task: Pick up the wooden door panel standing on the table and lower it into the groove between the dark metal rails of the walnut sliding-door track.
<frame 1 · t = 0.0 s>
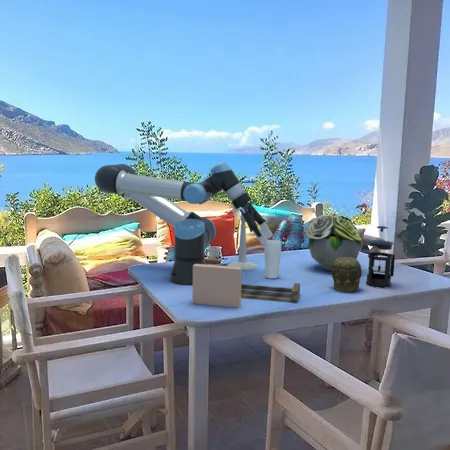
hand: (268, 240, 194), 15 cm above the table, tool tilted 35°, fingers open, 13 cm apart
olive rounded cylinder: (345, 289, 181), on the table
candlestick: (242, 267, 212), on the table
flower arrangement: (333, 269, 210), on the table
door panel: (216, 304, 161), on the table
drinking glass: (271, 277, 196), on the table
french press: (379, 284, 188), on the table
door track: (259, 294, 172), on the table
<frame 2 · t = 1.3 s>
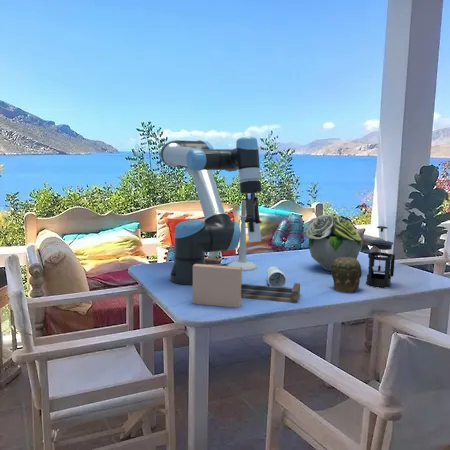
hand: (255, 241, 168), 19 cm above the table, tool pointing down, fingers open, 13 cm apart
drinking glass: (273, 272, 193), point 3 cm above the table
everything else where it was.
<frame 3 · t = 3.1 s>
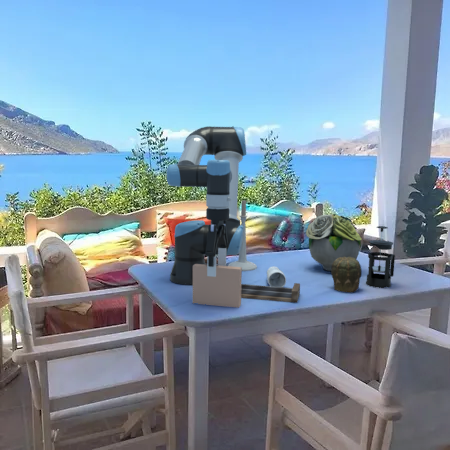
hand: (217, 271, 159), 11 cm above the table, tool pointing down, fingers open, 13 cm apart
nothing on the table moved.
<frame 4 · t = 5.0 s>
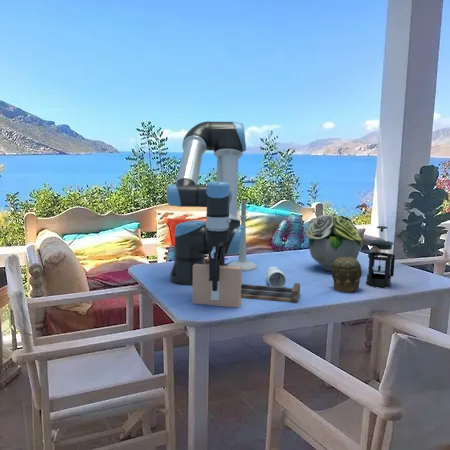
hand: (216, 297, 161), 2 cm above the table, tool pointing down, fingers closed on door panel, 3 cm apart
door panel: (216, 304, 161), on the table, touching gripper
everything else where it was.
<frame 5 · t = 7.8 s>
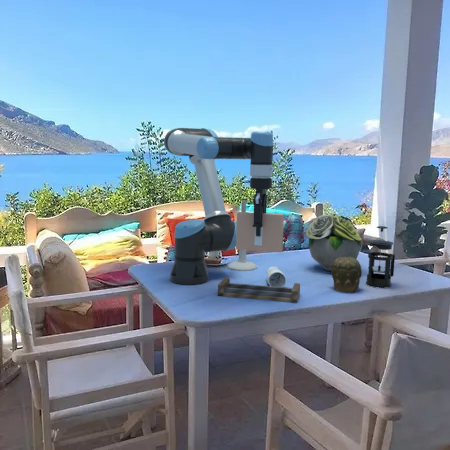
hand: (259, 244, 168), 19 cm above the table, tool pointing down, fingers closed on door panel, 3 cm apart
door panel: (259, 250, 169), point 16 cm above the table, touching gripper
everything else where it was.
when the fingers open (4 cm above the table, at t = 10.6 s): door panel drops 1 cm, resting on door track.
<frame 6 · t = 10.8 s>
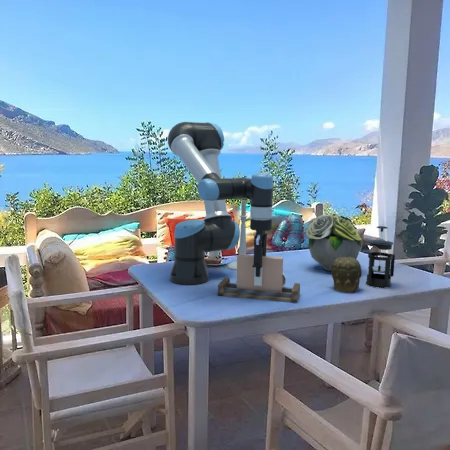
hand: (259, 282, 171), 4 cm above the table, tool pointing down, fingers open, 5 cm apart
door panel: (259, 292, 172), point 1 cm above the table, touching door track
everything else where it was.
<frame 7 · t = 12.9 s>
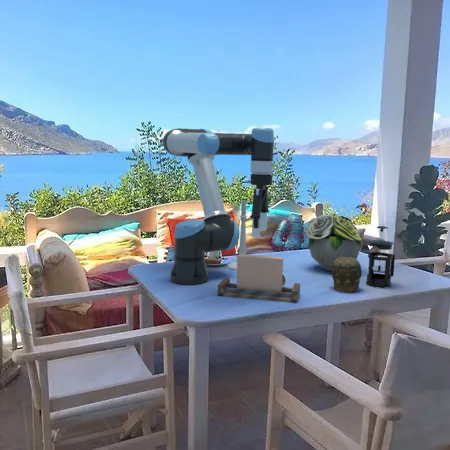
hand: (259, 233, 169), 22 cm above the table, tool pointing down, fingers open, 13 cm apart
nothing on the table moved.
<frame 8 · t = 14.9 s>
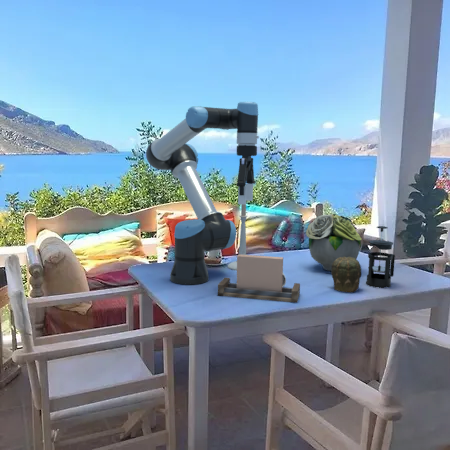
hand: (245, 202, 180), 32 cm above the table, tool pointing down, fingers open, 13 cm apart
nothing on the table moved.
at the end: door panel inside the target area on the door track (0.0 cm from its centre), point 1.0 cm above the door track's base; door panel tilted 0°; the gripper is holding nothing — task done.
